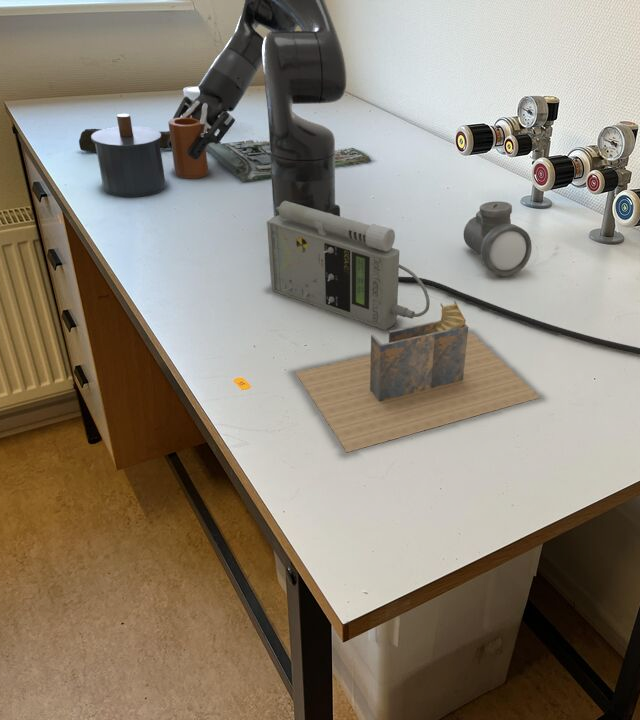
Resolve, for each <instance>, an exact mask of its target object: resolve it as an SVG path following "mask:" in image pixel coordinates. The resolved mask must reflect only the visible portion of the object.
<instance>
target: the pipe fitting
mask: <svg viewBox="0 0 640 720" xmlns="http://www.w3.org/2000/svg"><path fill="white" fill-rule="evenodd" d="M512 213H513V205H512V204H511V203H510V202H508V201H507V202H506V201H498V200H497V201H489V202H485V203H482V204H480V205H479V211H477V212H476V214H475V216H474V217H471V219H469V220H468V221H467V222H466V224H465V226H464V228H463V240H464V243H465V244H466V246H467V247H468V248H469V249H471V250H472V251H474V252H475V253H477V254H478V255H479V256H481V260H482V262H483V265H484V266H485V267H486V268H487V269H488V270H489V271H490V272H491V273H493V274H495V275H496V276H499V277H511V276H513V275H515V274H517V273H519V272H520V271H522V269H524V268H525V266H526V265H527V264H528V262H529V261H530V258H531V255H532V246H533V245H532V240H531V237H530V235H529V233H528V232H527V231H526V230H525V229H523V228H522V227H520V226H518V225H516V224H513V223H512V220H511V214H512Z"/></svg>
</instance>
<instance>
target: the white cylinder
mask: <svg viewBox="0 0 640 720" xmlns="http://www.w3.org/2000/svg"><path fill="white" fill-rule="evenodd" d="M198 86H199V85H192V86H191V85H190V86H186V87H183V89H182V91H183V98H184V97H186V96H187V97H188V98H189V99H190V100H195V99H196V98H197V97H198V96H199V95H200V90H199V88H198ZM191 117H192V115H191Z"/></svg>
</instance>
